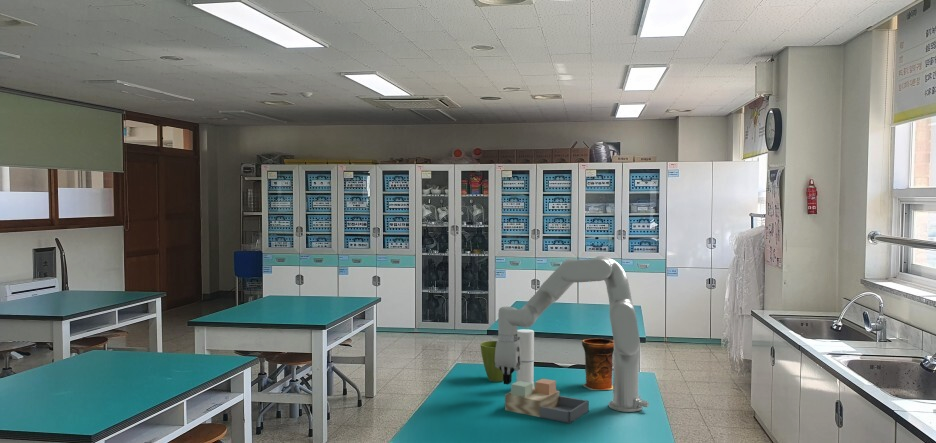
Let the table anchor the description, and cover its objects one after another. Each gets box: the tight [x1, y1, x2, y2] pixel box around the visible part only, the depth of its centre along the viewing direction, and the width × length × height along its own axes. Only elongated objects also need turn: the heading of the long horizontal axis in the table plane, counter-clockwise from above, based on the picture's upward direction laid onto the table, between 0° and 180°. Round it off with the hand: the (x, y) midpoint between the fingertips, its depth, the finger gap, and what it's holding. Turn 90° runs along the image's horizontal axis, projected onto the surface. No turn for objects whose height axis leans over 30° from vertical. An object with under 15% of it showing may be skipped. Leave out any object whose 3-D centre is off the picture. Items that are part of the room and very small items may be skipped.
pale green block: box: [510, 380, 533, 397], centre depth 254 cm, size 6×6×4 cm
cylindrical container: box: [516, 328, 535, 387], centre depth 282 cm, size 7×7×25 cm
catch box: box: [539, 395, 590, 424], centre depth 249 cm, size 12×17×4 cm
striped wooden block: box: [504, 385, 560, 418], centre depth 257 cm, size 15×16×6 cm
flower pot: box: [479, 340, 508, 383], centre depth 298 cm, size 15×15×16 cm
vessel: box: [581, 337, 614, 391], centre depth 287 cm, size 14×14×20 cm
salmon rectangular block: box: [534, 378, 557, 395], centre depth 258 cm, size 6×6×4 cm
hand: (507, 383), depth 267 cm, fingers closed
